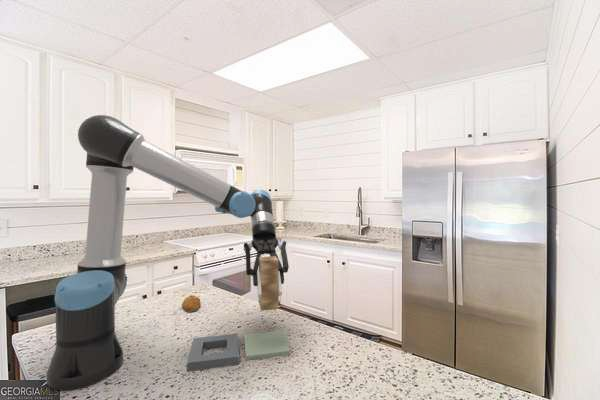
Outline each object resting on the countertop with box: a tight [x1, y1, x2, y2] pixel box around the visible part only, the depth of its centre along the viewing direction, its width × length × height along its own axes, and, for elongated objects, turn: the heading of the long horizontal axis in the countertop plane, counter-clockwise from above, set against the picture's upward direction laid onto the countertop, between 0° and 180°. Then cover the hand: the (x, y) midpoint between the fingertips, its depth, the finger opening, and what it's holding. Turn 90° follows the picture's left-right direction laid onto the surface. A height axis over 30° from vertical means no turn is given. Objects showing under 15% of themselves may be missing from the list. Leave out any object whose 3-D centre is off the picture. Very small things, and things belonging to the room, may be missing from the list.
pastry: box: [181, 294, 202, 313], centre depth 110 cm, size 9×7×4 cm
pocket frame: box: [186, 333, 240, 372], centre depth 78 cm, size 12×12×2 cm
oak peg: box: [258, 256, 280, 312], centre depth 83 cm, size 5×5×14 cm
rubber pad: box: [243, 329, 291, 361], centre depth 83 cm, size 12×12×1 cm
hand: (270, 294), depth 79 cm, fingers closed on oak peg, 5 cm apart
